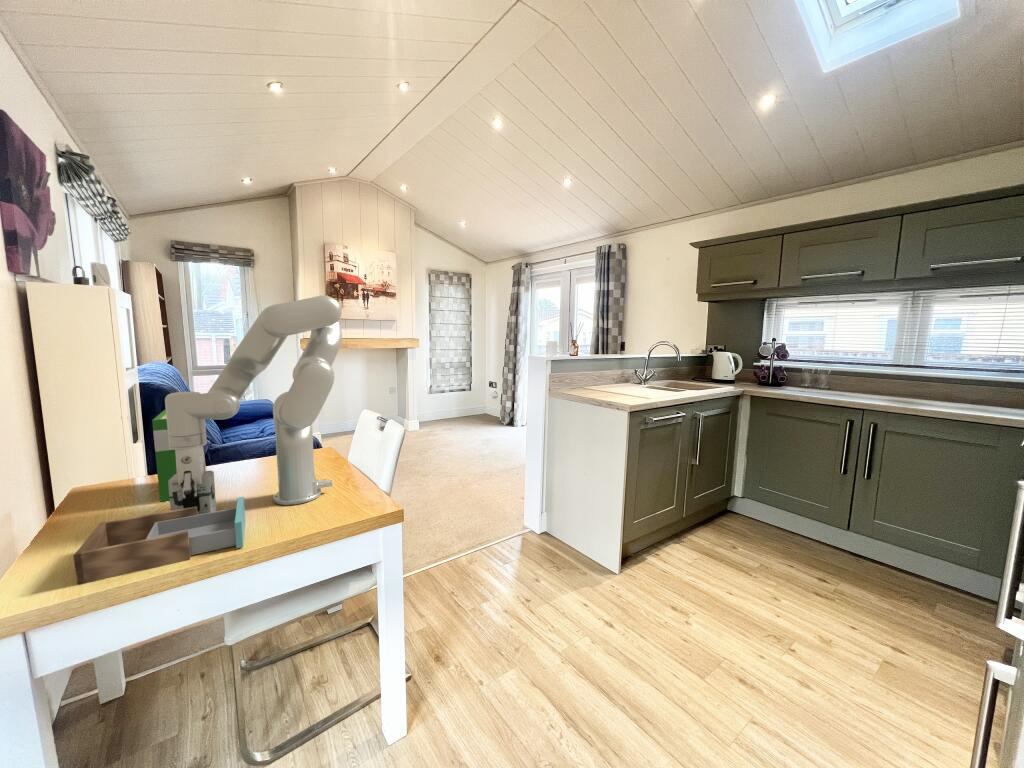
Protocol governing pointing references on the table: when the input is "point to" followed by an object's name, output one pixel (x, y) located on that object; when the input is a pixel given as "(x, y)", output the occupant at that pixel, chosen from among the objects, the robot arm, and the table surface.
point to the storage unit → (130, 547)
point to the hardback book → (163, 455)
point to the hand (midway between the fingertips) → (193, 507)
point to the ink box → (203, 491)
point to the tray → (207, 529)
